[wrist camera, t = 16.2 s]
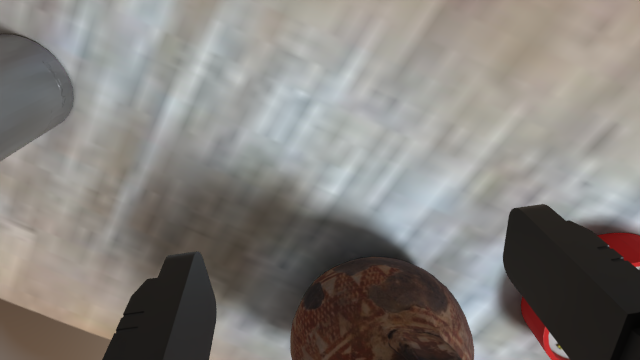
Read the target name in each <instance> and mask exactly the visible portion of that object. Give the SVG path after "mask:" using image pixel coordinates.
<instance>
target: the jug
mask: <svg viewBox="0 0 640 360" xmlns="http://www.w3.org/2000/svg"><path fill="white" fill-rule="evenodd" d="M290 343H291V357H292V360H474V346H473V339H472V334H471V331H470V328H469V325H468V323H467V320H466V317H465V315H464V313H463V311H462V309H461V307H460V305H459V304H458V302H457V300H456V299H455V297H454V296H453V295H452V293H451V292H450V291H449V290H448V288H447V287H446V286H444V285H443V284H442V283H441V282H440V281H439V280H437V279H436V278H435V277H434V276H433V275H432V274H430V273H429V272H427V271H426V270H424V269H422V268H420V267H417V266H415V265H413V264H410V263H408V262H405V261H403V260H399V259H394V258H386V257H366V258H359V259H355V260H351V261H348V262H346V263H343V264H341V265H338V266H336V267H334V268H332V269H330V270H328V271H327V272H325V273H324V274H322V275H321V276H320V277H319V278H317V279H316V280H315V281H314V282H313V283H312V285H311V286H310V287H309V289H308V290H307V292H306V293H305V295H304V296H303V298H302V300H301V303H300V305H299V307H298V309H297V311H296V314H295V317H294V319H293V323H292V329H291V340H290Z"/></svg>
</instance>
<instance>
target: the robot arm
mask: <svg viewBox="0 0 640 360" xmlns="http://www.w3.org/2000/svg"><path fill="white" fill-rule="evenodd" d="M73 100H74V96H73V87H72V84H71V81H70V78H69V76H68V74H67V72H66V70H65V69H64V67H63V66H62V65H61V63H60V62H59V61H58V59H57V58H56V57H54V56H53V55H52V54H51V53H50V52H49V51H48V50H47V49H45V48H44V47H42V46H41V45H39V44H38V43H36V42H34V41H31V40H29V39H27V38H24V37H20V36H17V35H9V34H0V161H2V160H3V159H5V158H6V157H8V156H10V155H11V154H13V153H14V152H16V151H17V150H19V149H21V148H22V147H24V146H25V145H27V144H28V143H30V142H32V141H33V140H35V139H36V138H38V137H40V136H41V135H43V134H44V133H46V132H47V131H49V130H50V129H52V128H54V127H55V126H57V125H58V124H60V123H61V122H63V121H64V120H65V119H66V117H67V116H68V115H69V113H70V111H71V109H72V106H73ZM503 263H504V268H505V271H506V273H507V276H508V277H509V279H510V280H511V282H512V283H513V284H514V286H515V287H516V288H517V290H518V291H519V292H520V294H521V295H522V296H523V298H524V299H525V300H526V302H527V303H528V304H529V306H530V307H531V308H532V310H533V311H534V312H535V314H536V315H537V316H538V318H539V319H540V320H541V322H542V323H543V324H544V326H545V327H546V328H547V329H548V331H549V332H550V333H551V335H552V336H553V337H554V339H555V340H556V341H557V343H558V344H559V345H560V347H561V348H562V349H563V351H564V352H565V353H566V355H567V356H568V357H569V359H570V360H640V270H638V269H637V268H636V267H635V266H634V265H632V264H631V263H630V262H629V261H628V260H627V261H625V260H624V257H623V256H621V255H620V254H619V253H618V252H617V251H615V250H614V249H613V248H612V249H610V247H609V245H608V244H607V243H606V242H604V241H603V240H602V239H601V238H600V237H598V236H597V235H596V234H595V233H593V232H592V231H590V230H588V229H586V228H584V227H582V226H580V225H578V224H576V223H574V222H572V221H565V220H564V219H563V218H562V217H561V216H559V215H558V214H557V213H556V212H555V211H554V210H553V209H551V208H550V207H549V206H547V205H544V204H541V205H534V206H527V207H520V208H514V209H512V210H511V212H510V214H509V220H508V226H507V233H506V239H505V246H504V252H503ZM123 315H124V317H123V318H121V320H120V322H119V325H118V327H117V329H116V333H115V334H114V335H113V338H112V340H111V342H110V344H109V346H108V348H107V351H106V353H105V355H104V357H103V359H102V360H209V356H210V351H211V345H212V340H213V334H214V329H215V323H216V301H215V296H214V292H213V289H212V286H211V283H210V280H209V277H208V273H207V270H206V267H205V264H204V261H203V258H202V255H201V254H200V252H191V253H183V254H176V255H169V256H167V257H166V259H165V261H164V264H163V266H162V269H161V271H160V274H159V276H158V278H152V279H147V280H146V281H145V282H144V283H143V284H142V285H141V286H140V288H139V289H138V290H137V291H136V292H135V293H134V294H133V295H132V296H131V298H130V301H129V303H128V305H127V307H126V309H125V311H124V314H123Z"/></svg>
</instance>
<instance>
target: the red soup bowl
mask: <svg viewBox="0 0 640 360" xmlns="http://www.w3.org/2000/svg"><path fill="white" fill-rule="evenodd" d="M597 236H598V237H600V238H601V239H602V240H603V241H604V242H606V243H607V244H608V245H609V247H610V249H612V248H613V249H614V250H615V251H617V252H618V253H619V254H620V255H621V256H623V257H624V260H625V261H627V260H628V261H629V262H630V263H631V264H632V265H634V266H635V267H636V268H637V269H638V270H640V236H639V235H636V234H630V233H608V234H601V235H597ZM521 311H522V315H523V318H524V320H525V322H526V323H527V325H528V326H529V328H530V329H531V331H532V332H533V334H534V335H535V337H536V338H537V340H538V341H539V343H540V344H541V346H542V347H543V349H544V350H545V352H546V353H547V355H548V356H549V357H550V359H551V360H570V359H569V357H568V356H567V355H566V353H565V352H564V351H563V349H562V348H561V347H560V345H559V344H558V343H557V341H556V340H555V339H554V337H553V336H552V335H551V333H550V332H549V331H548V329H547V328H546V327H545V326H544V324H543V323H542V322H541V320H540V319H539V318H538V316H537V315H536V314H535V312H534V311H533V310H532V308H531V307H530V306H529V304H528V303H527V302H526V300H525V299H524V298H523V296H522V301H521Z"/></svg>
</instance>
